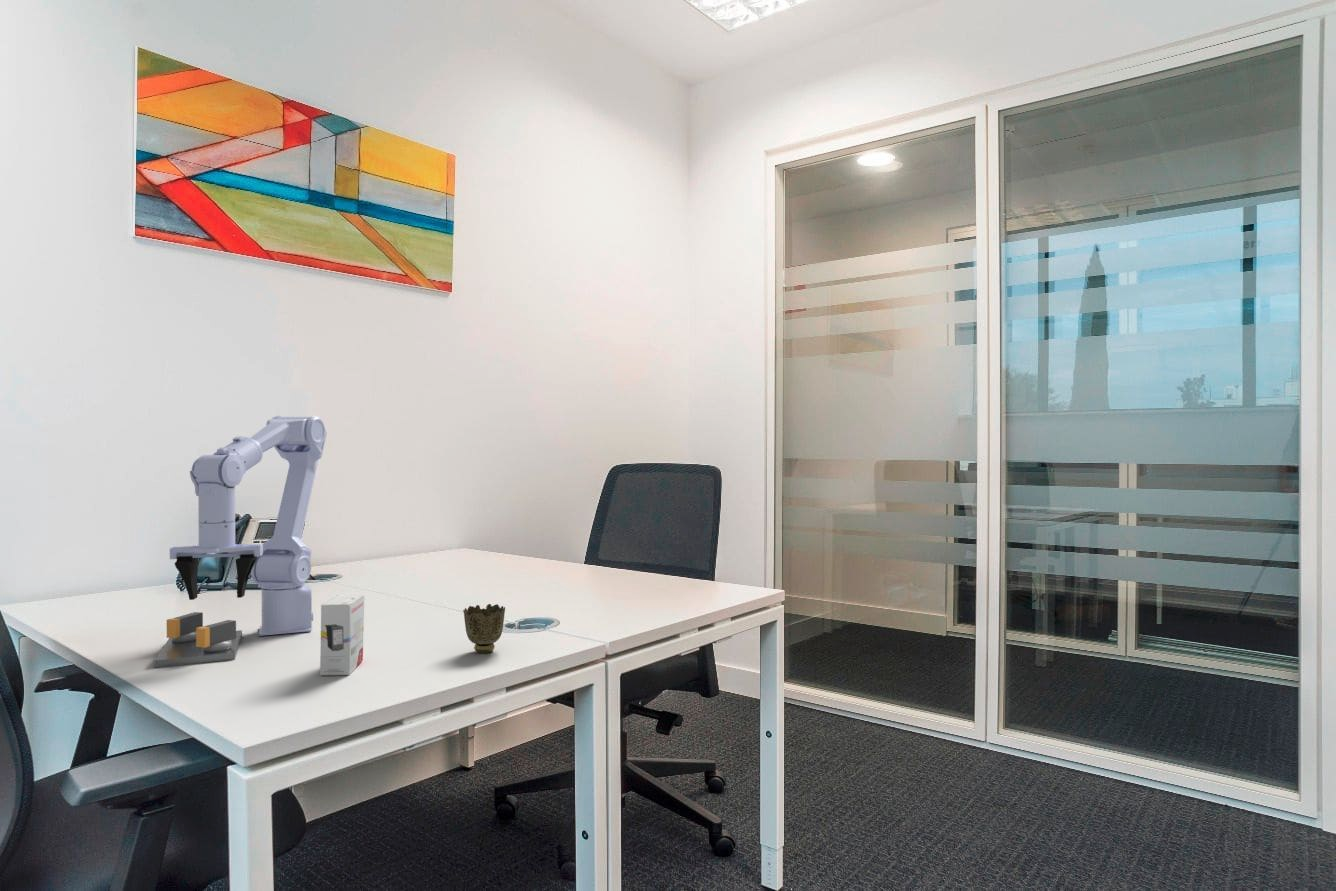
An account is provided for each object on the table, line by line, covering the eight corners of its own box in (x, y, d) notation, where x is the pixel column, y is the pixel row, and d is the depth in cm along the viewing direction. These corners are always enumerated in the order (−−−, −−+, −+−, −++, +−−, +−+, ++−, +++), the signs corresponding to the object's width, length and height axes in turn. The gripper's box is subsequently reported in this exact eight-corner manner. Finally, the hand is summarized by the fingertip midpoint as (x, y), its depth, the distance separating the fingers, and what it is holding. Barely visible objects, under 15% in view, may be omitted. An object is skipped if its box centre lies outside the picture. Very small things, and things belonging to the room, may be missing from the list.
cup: (463, 658, 140) (463, 613, 140) (463, 647, 147) (463, 604, 147) (506, 655, 142) (506, 610, 142) (503, 645, 149) (503, 602, 149)
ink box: (335, 662, 137) (335, 594, 137) (365, 661, 138) (365, 593, 138) (318, 677, 129) (318, 604, 129) (350, 676, 129) (350, 604, 129)
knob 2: (222, 643, 145) (222, 619, 145) (241, 645, 144) (241, 620, 144) (190, 652, 139) (190, 627, 139) (210, 654, 137) (210, 629, 137)
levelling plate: (241, 636, 155) (241, 621, 155) (234, 659, 139) (234, 642, 139) (170, 642, 150) (170, 627, 150) (154, 667, 134) (154, 649, 134)
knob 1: (188, 634, 151) (188, 611, 151) (208, 635, 151) (208, 612, 151) (160, 643, 145) (160, 619, 145) (181, 644, 144) (181, 620, 144)
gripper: (163, 525, 135) (163, 604, 136) (255, 523, 139) (256, 600, 139) (177, 521, 142) (177, 596, 142) (265, 519, 146) (265, 592, 146)
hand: (217, 597), depth 141 cm, fingers open, 7 cm apart
